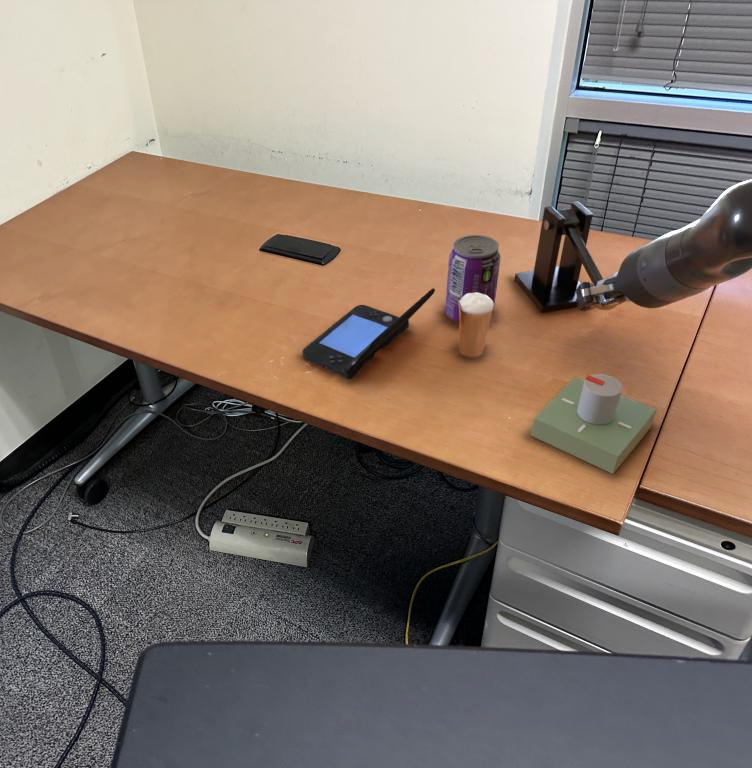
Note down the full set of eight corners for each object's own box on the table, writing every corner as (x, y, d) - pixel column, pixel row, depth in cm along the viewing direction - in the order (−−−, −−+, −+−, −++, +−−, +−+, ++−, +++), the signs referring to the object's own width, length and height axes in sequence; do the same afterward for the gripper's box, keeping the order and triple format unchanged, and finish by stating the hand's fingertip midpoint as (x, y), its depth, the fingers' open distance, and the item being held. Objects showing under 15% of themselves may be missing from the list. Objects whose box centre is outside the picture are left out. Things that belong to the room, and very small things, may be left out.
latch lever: (619, 313, 93) (630, 296, 90) (593, 317, 93) (603, 301, 90) (570, 221, 102) (578, 203, 99) (546, 225, 102) (554, 207, 99)
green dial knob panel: (650, 427, 83) (657, 408, 81) (612, 474, 78) (619, 455, 76) (570, 394, 89) (574, 375, 87) (530, 435, 85) (534, 417, 83)
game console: (359, 309, 110) (359, 260, 104) (435, 337, 102) (439, 285, 96) (298, 359, 102) (293, 308, 96) (374, 393, 94) (375, 340, 88)
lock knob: (620, 411, 82) (629, 380, 79) (604, 429, 80) (613, 398, 77) (586, 397, 84) (594, 367, 81) (570, 415, 82) (578, 384, 79)
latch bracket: (593, 304, 103) (614, 221, 95) (541, 313, 103) (557, 230, 94) (562, 271, 111) (578, 191, 102) (514, 279, 111) (526, 200, 102)
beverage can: (495, 327, 102) (505, 257, 94) (445, 328, 103) (451, 258, 96) (490, 301, 107) (499, 232, 100) (443, 302, 109) (448, 233, 101)
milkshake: (443, 348, 100) (447, 290, 93) (475, 338, 101) (482, 279, 94) (460, 365, 96) (466, 306, 90) (494, 355, 97) (502, 295, 91)
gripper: (617, 310, 78) (551, 336, 95) (740, 290, 78) (651, 319, 95) (603, 246, 78) (540, 283, 96) (724, 226, 79) (639, 267, 96)
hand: (596, 301), depth 95 cm, fingers closed on latch lever, 3 cm apart
